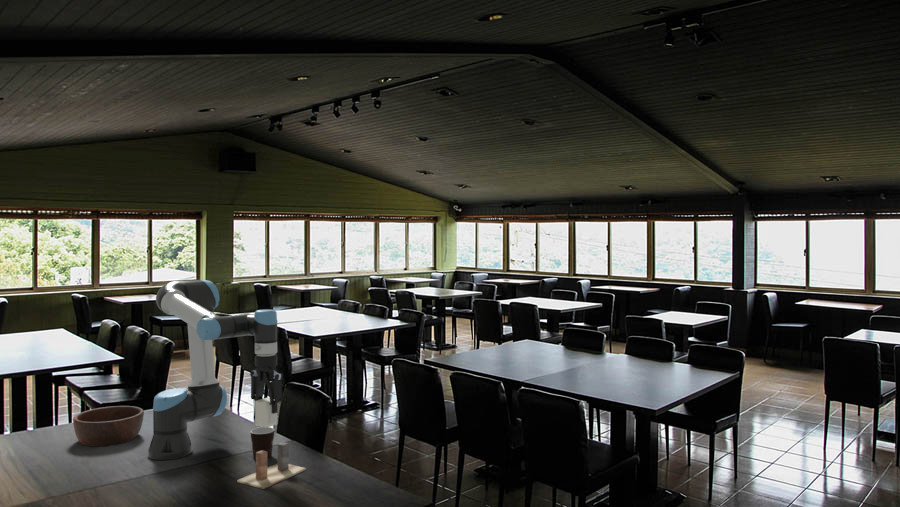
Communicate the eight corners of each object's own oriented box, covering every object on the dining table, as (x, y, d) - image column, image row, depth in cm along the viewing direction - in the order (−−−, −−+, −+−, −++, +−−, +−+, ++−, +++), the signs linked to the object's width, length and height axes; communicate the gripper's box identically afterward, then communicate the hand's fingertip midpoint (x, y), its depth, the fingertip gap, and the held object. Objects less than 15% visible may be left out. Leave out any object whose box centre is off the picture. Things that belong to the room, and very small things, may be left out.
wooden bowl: (156, 436, 256) (156, 411, 256) (94, 453, 235) (94, 426, 235) (122, 426, 270) (122, 402, 270) (60, 441, 249) (60, 415, 249)
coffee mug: (267, 462, 228) (267, 434, 228) (245, 460, 230) (245, 433, 229) (282, 451, 239) (282, 425, 239) (261, 450, 241) (261, 424, 241)
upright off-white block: (255, 425, 217) (255, 400, 217) (266, 422, 222) (266, 397, 222) (266, 427, 215) (265, 402, 215) (277, 424, 219) (277, 399, 219)
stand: (237, 481, 209) (237, 453, 209) (280, 463, 227) (280, 437, 226) (263, 489, 203) (263, 459, 203) (305, 469, 221) (306, 442, 221)
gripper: (239, 353, 220) (239, 420, 220) (277, 358, 210) (277, 427, 211) (255, 350, 226) (256, 415, 226) (293, 354, 217) (293, 422, 217)
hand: (266, 421), depth 218 cm, fingers closed on upright off-white block, 5 cm apart
